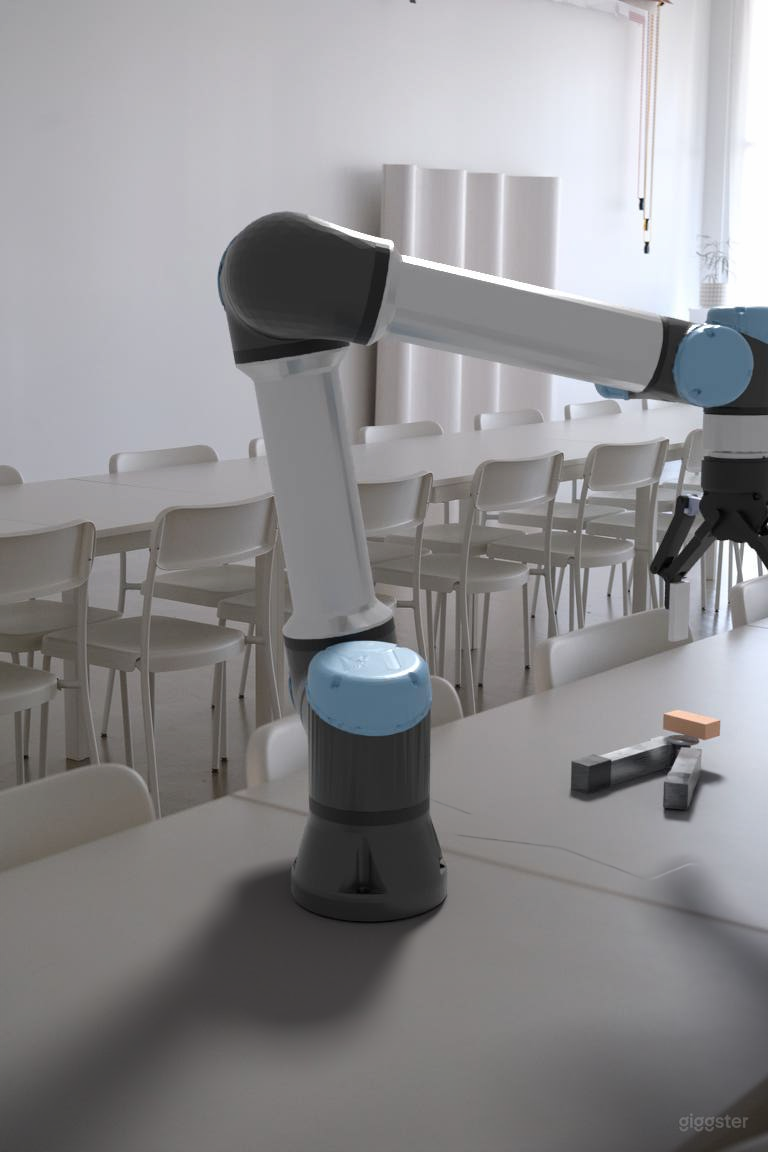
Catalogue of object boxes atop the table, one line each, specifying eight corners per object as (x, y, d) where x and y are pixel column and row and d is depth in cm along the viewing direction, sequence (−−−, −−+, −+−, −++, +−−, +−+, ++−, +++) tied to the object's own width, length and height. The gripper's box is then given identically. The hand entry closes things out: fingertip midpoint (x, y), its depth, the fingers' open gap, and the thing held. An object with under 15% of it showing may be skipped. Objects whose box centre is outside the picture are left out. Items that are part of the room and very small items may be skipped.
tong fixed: (662, 758, 175) (663, 732, 175) (693, 767, 172) (694, 741, 171) (569, 787, 164) (569, 760, 164) (600, 797, 161) (601, 770, 160)
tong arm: (667, 758, 174) (668, 733, 174) (706, 762, 173) (707, 737, 172) (644, 805, 157) (645, 777, 157) (687, 809, 156) (688, 782, 155)
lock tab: (677, 724, 176) (678, 709, 176) (719, 735, 171) (720, 720, 171) (663, 729, 174) (663, 713, 174) (704, 740, 170) (705, 724, 169)
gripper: (864, 459, 140) (853, 664, 144) (663, 445, 158) (657, 626, 162) (825, 464, 135) (814, 676, 139) (622, 449, 153) (617, 636, 157)
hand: (729, 650), depth 151 cm, fingers open, 13 cm apart
